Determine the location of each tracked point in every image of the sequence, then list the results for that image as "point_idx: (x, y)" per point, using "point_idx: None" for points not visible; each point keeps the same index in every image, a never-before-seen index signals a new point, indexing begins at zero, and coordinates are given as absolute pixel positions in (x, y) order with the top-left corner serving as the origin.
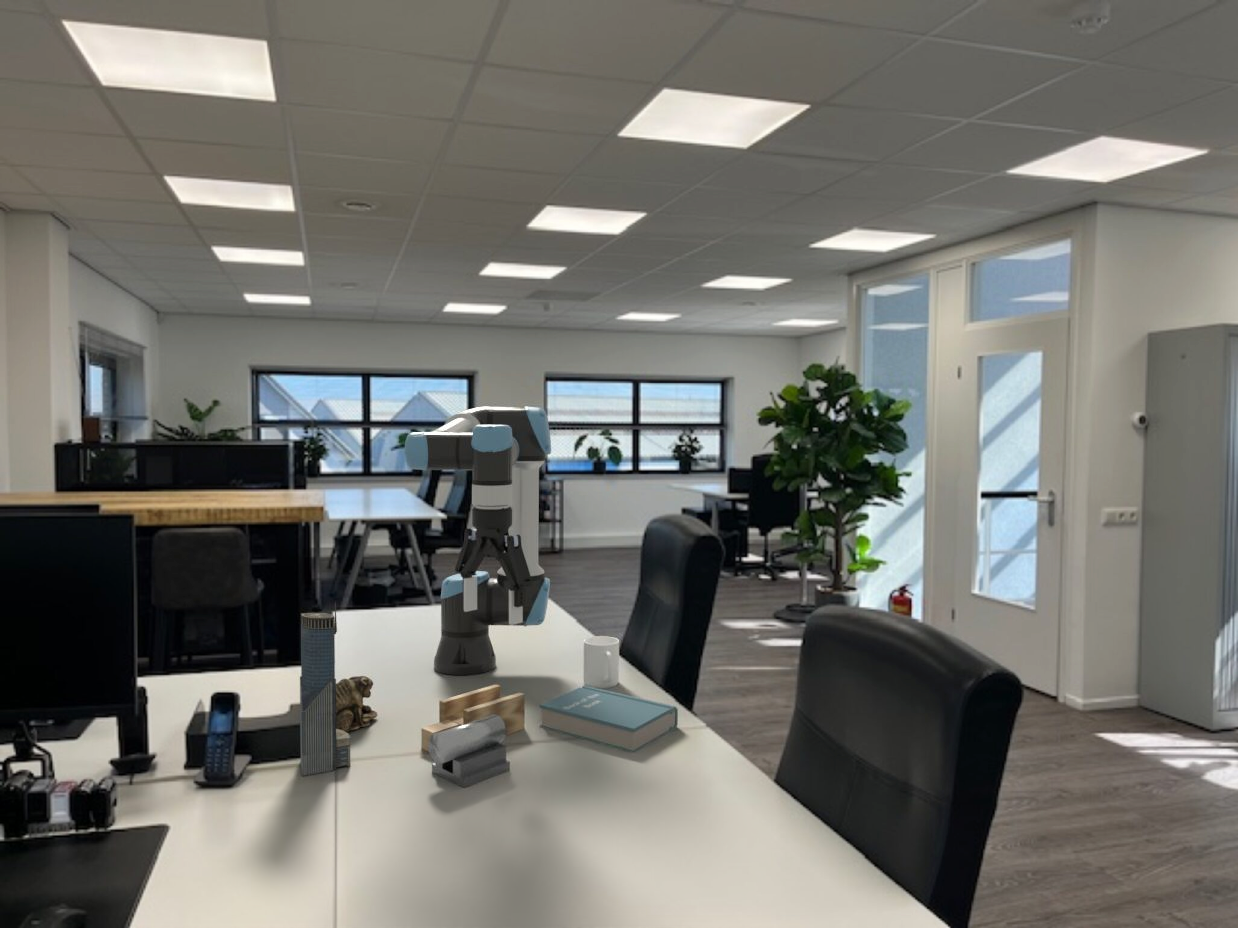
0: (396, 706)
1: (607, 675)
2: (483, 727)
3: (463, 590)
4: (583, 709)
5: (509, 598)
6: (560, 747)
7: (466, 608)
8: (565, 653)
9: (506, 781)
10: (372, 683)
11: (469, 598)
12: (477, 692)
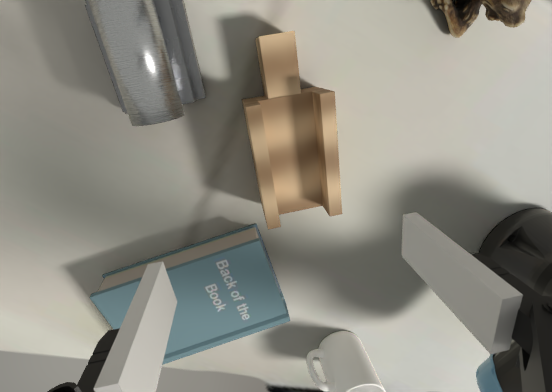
0: (469, 90)
1: (323, 358)
2: (118, 74)
3: (484, 259)
4: (202, 279)
5: (129, 341)
6: (169, 210)
7: (409, 221)
8: (452, 357)
9: (85, 82)
10: (507, 22)
11: (429, 253)
12: (327, 170)
